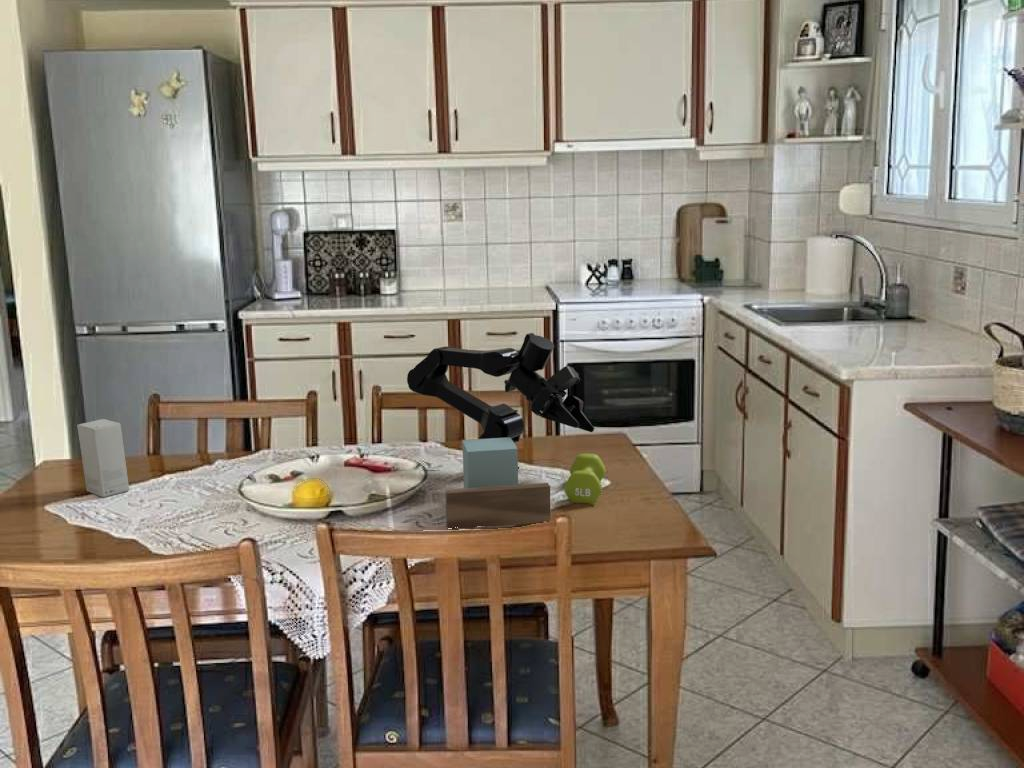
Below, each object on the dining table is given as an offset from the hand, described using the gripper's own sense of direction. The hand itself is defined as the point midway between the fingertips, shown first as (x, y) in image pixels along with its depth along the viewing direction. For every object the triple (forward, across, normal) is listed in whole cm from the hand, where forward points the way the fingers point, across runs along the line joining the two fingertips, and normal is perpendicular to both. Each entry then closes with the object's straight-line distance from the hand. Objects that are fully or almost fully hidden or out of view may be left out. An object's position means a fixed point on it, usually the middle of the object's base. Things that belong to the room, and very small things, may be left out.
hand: (585, 428), depth 213 cm
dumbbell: (+9, 0, +11) cm, 14 cm away
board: (+6, -24, +22) cm, 33 cm away
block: (-1, -16, +22) cm, 27 cm away
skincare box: (-69, -36, +73) cm, 107 cm away
